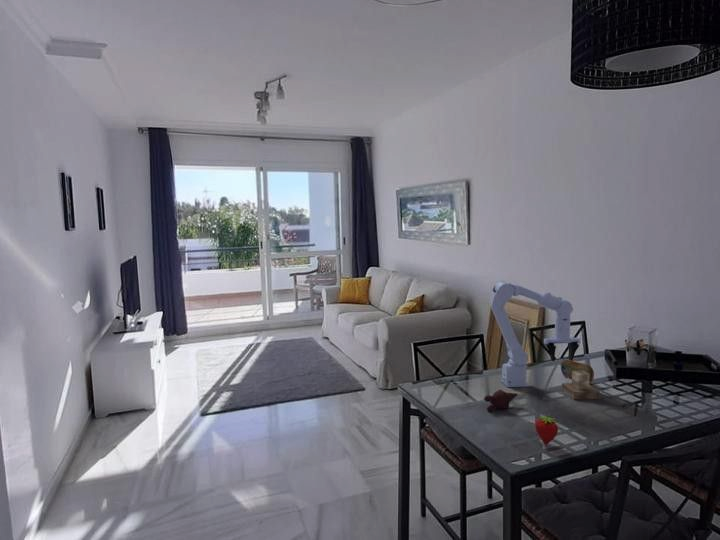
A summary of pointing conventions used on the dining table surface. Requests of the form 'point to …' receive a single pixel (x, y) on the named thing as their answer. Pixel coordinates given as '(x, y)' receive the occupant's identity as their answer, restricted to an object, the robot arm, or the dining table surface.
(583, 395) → the plinth
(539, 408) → the dining table surface
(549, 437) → the strawberry
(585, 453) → the dining table surface
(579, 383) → the birch block
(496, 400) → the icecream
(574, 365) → the tin
